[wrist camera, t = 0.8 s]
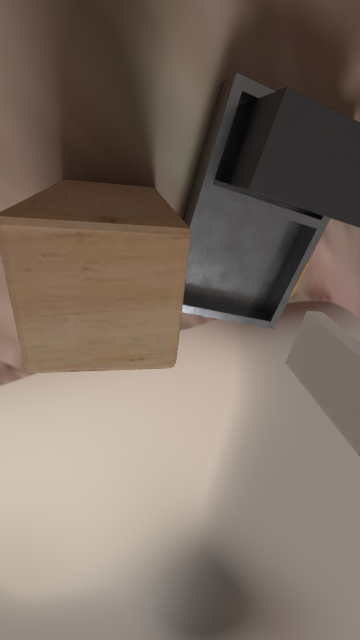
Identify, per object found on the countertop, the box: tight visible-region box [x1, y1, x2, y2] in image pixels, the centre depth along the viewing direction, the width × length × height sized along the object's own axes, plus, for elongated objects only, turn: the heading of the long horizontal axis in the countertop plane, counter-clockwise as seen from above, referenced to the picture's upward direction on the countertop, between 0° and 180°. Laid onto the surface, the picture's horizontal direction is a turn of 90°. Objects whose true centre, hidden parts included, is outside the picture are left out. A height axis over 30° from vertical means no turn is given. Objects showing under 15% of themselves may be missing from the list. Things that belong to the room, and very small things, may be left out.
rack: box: [182, 73, 360, 329], centre depth 32 cm, size 17×24×11 cm
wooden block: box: [0, 179, 191, 373], centre depth 25 cm, size 10×10×20 cm
